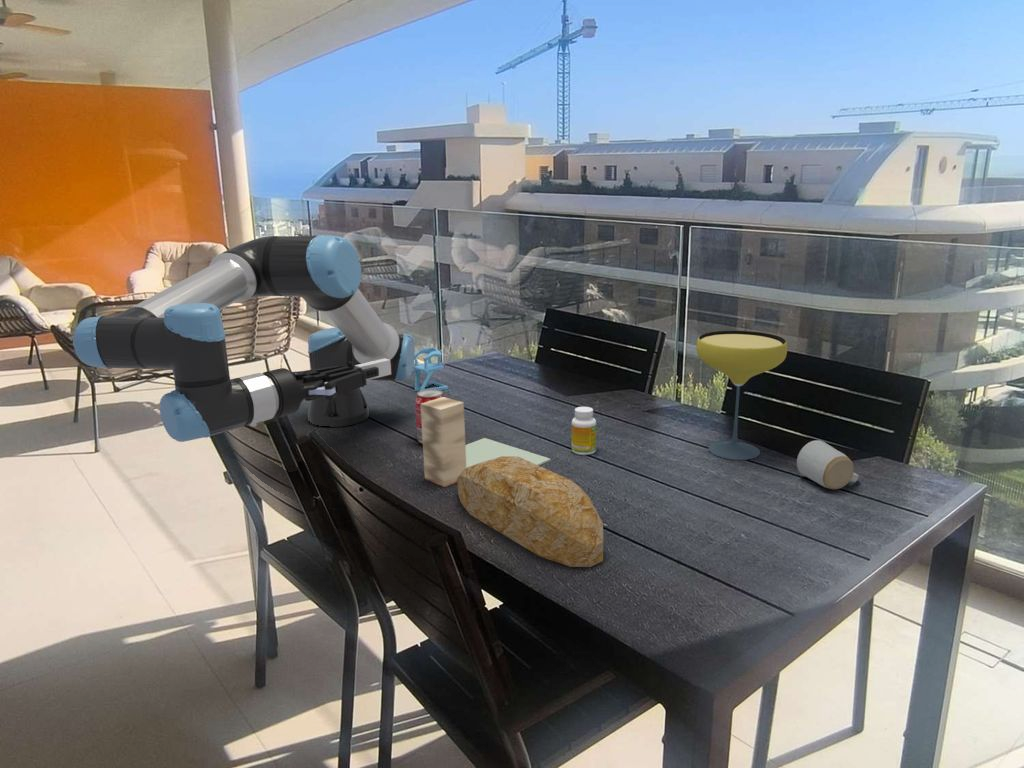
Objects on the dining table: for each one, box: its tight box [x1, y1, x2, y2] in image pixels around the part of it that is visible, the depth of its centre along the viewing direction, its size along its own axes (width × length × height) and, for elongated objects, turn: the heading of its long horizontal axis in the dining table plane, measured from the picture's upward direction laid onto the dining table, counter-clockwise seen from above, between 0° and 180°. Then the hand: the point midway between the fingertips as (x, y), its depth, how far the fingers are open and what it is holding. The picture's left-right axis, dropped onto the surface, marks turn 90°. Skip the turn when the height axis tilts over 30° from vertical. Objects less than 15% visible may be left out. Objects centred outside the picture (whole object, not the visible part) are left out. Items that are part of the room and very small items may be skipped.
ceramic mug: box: [796, 439, 859, 490], centre depth 138 cm, size 11×8×8 cm
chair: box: [413, 347, 449, 392], centre depth 206 cm, size 8×8×12 cm
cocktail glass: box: [696, 330, 788, 461], centre depth 153 cm, size 18×18×25 cm
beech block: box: [421, 396, 466, 488], centre depth 143 cm, size 6×6×16 cm
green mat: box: [465, 437, 551, 468], centre depth 154 cm, size 20×16×1 cm
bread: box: [456, 456, 604, 568], centre depth 124 cm, size 36×11×10 cm, turn 38°
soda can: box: [414, 388, 445, 445], centre depth 164 cm, size 7×7×12 cm
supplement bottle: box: [571, 406, 597, 456], centre depth 157 cm, size 5×5×10 cm
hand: (387, 366), depth 129 cm, fingers closed
